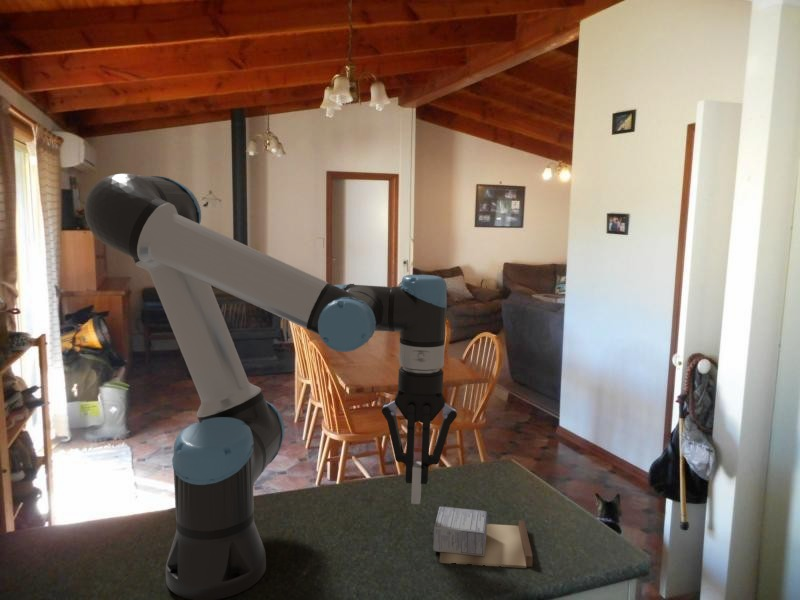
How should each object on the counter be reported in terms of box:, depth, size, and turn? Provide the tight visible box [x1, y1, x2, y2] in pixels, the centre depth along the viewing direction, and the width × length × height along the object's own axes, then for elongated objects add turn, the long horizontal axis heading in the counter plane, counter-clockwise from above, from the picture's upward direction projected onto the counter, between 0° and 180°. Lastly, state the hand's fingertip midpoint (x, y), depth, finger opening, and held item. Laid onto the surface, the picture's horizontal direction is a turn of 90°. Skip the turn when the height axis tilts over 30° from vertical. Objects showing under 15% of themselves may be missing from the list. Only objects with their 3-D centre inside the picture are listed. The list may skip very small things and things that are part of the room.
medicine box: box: [432, 506, 488, 556], centre depth 107 cm, size 8×4×9 cm
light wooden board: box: [439, 523, 527, 569], centre depth 108 cm, size 14×13×1 cm
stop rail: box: [517, 519, 534, 568], centre depth 107 cm, size 1×12×2 cm, turn 175°
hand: (415, 500), depth 108 cm, fingers closed
